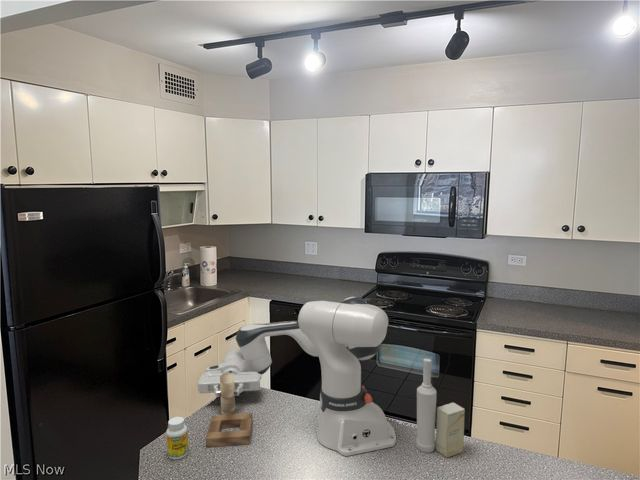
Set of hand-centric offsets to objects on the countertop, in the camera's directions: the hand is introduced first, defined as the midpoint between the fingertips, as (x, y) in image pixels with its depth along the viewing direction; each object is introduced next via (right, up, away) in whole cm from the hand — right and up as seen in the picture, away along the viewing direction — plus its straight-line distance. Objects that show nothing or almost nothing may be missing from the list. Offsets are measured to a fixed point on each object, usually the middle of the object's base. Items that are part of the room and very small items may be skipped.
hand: (227, 394), depth 132 cm
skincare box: (+64, -8, -19) cm, 68 cm away
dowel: (0, -6, +2) cm, 7 cm away
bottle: (+58, -8, -17) cm, 61 cm away
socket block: (+3, -8, -10) cm, 13 cm away
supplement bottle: (-9, -9, -19) cm, 23 cm away
